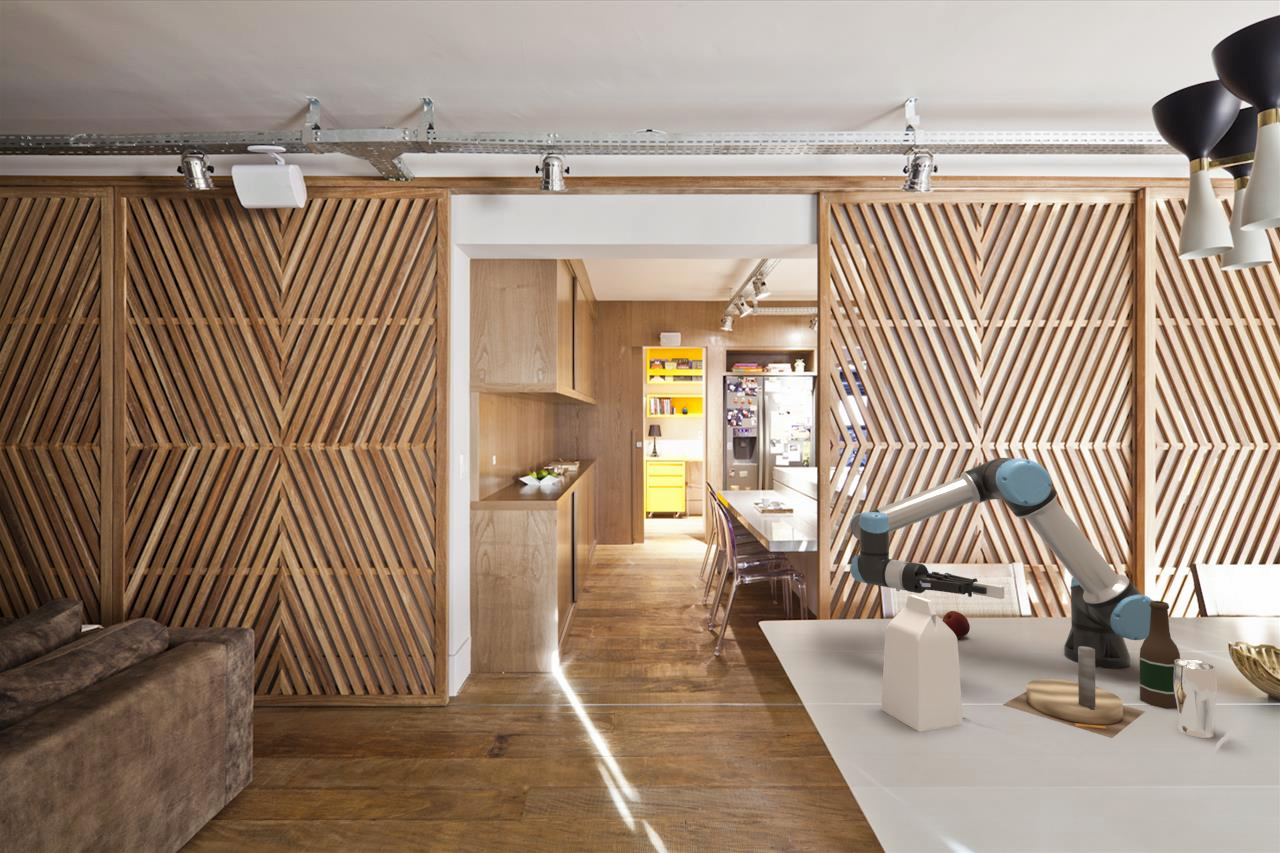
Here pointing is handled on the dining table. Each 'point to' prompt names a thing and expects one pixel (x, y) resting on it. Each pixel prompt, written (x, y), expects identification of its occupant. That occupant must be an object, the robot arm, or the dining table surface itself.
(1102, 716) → the cam dial
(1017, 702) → the dial base
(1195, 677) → the beer glass
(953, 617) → the apple
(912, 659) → the milk
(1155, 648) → the beer bottle
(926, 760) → the dining table surface
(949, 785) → the dining table surface
